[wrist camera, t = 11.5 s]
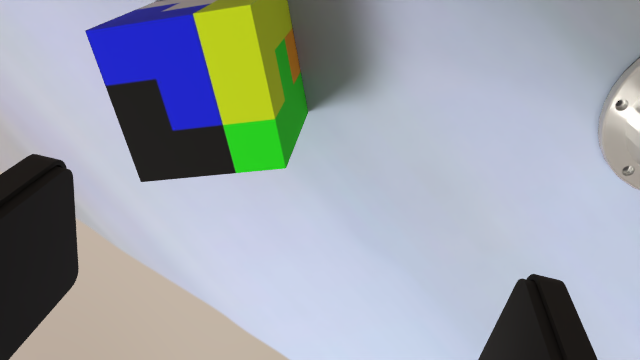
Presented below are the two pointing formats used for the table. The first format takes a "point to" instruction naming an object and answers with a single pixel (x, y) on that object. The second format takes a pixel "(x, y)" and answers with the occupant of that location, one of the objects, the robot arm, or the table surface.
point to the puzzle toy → (203, 85)
